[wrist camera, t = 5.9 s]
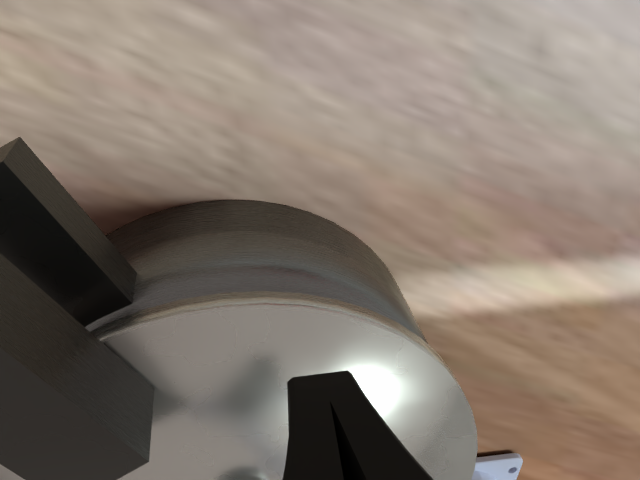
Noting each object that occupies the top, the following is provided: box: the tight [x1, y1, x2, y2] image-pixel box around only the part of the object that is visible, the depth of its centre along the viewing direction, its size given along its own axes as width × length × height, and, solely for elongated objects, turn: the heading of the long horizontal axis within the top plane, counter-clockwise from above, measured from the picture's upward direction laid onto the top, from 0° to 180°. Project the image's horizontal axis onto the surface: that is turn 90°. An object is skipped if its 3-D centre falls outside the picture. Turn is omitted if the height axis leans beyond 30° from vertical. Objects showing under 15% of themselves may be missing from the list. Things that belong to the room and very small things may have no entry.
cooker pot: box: [0, 137, 428, 344], centre depth 21 cm, size 21×16×6 cm
